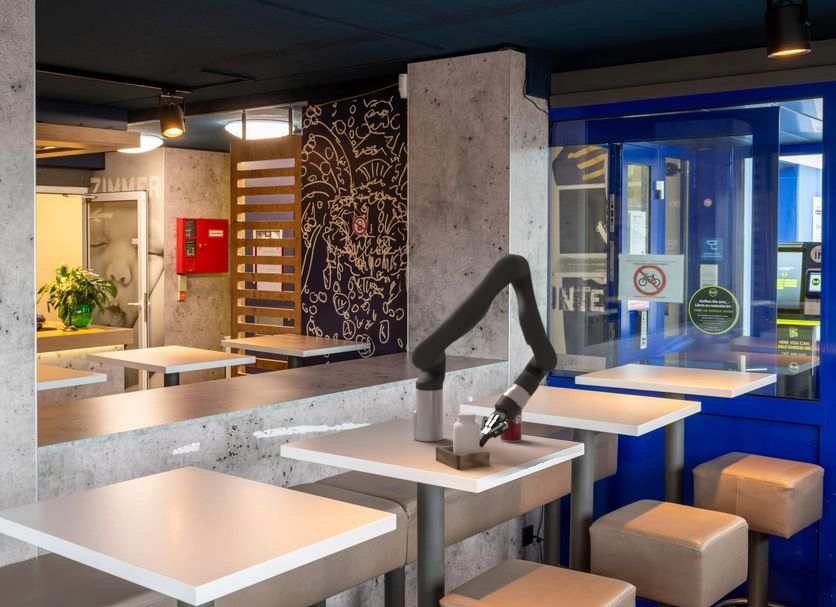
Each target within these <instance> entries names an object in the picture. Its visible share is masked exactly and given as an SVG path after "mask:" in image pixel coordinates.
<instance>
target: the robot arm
mask: <svg viewBox="0 0 836 607" xmlns="http://www.w3.org/2000/svg"><path fill="white" fill-rule="evenodd" d="M510 284H511V287H512V289H513V291H514V292H515V297H516V300H517V310H518V311H517V312H518V313H517V314H518V322H519V326H520V329H521V332H522V335H523V339H524V341H525V343H526V345H527V346H529V347H530V349H531V351H532V353H533V356H531V358H530V359H529V361H528V362H527V364H526V365H525V367H524V368H523V370H522V371H521V373H520V374H519V375H518V376H517V377H516V379H515V380H514V381H513V383H512V384H511V385H510V386H509V387H508V388H506V390H505V391H504V392H503V394H502V395H501V396H500V398H499V399H498V400H497V401H496V402H495V404H494V411H493V412H492V413H491V414H490V415H489V416H488V417H487V415H486V416H485V415H484V416H483V417H482V419H481V420H482V422H481V424H480V425H481V426H480V428H479V431H481V434H480V435H479V448H484V446H485V445H486V444H487V442H488V441H489V440H491V439H492V438H493V439H497V438H498V437H500V435H501V434H503V433H504V432H506V431H507V430H509V428H510V427H509V426H508V423H509V421H513V420H515V418H516V417H517V416H518V414H519V413H520V412H521V411H522V412H523V409H524V408H525V407H526V405H527V404H528V402H529V400H530V399H531V398H532V396H533V395H534V393H535V392H536V391H537V390H538V388H539V387H540V383H541V382H542V381H543V379H544V378H545V377H546V376H547V375H548V374H549V373H550V372H552V371H553V370H555V368H557V364H558V357H557V353H556V350H555V348H554V346H553V344H552V342H551V340H550V339H549V338H548V336H547V332H546V329H545V325H544V323H543V320H542V317H541V313H540V310H539V307H538V304H537V299H536V295H535V291H534V290H535V289H534V285H533V279H532V272H531V267H530V264H529V261H528V260H527V259H526V257H524V256H523V255H521V254H515V253H505V254H502V255H501V256H499V258H497V259H496V261H495V262H494V263H493V264H492V266H491V267H490V268H489V270H488V271H487V272H486V274H484V276H483V278H482V279H481V280H480V281H479V282H478V283H477V284H476V285H475V286H474V287H473V288H472V289H471V290H470V291H469V292H468V293H467V294H466V295H464V297H463V298H461V300H460V301H459V302H458V303H457V304H456V305H455V306H454V308H453V309H451V311H450V312H449V313H448V314H447V315H446V316H445V318H443V320H442V321H441V322H440V323H439V324H438V326H437V327H436V328H435V329H434V330H433V331H431V333H429V334H428V335H427V336H426V337H424V338H423V339H422V340H421V341H420V342H419V343H417V345H415V346H414V348H413V350H412V352H411V363H412V364H413V366H414V367H415V368H417V369H419V370H420V374H419V376H418V377H417V379H416V381H415V410H414V411H413V440H416V441H420V442H421V441H422V442H438V441H439V442H440V441H442V440H443V439H444V383H445V379H446V369H447V368H446V367H447V366H446V365H447V364H446V363H447V356H446V350H447V349H448V347H450V346H451V345H452V344H453V343H455V342H456V341H458V340H460V339H461V338H462V337H464V336H465V335H466V334H468V333H469V332H471V331H472V330H473V329H474V328H475V327H476V326H477V325H478V324H479V323H480V322H481V321H482V320H483V319H484V318H485V317H486V315H487V314H488V312H489V310H490V308H491V305H492V304H493V302H494V300H495V299H496V297H497V296H498V295H499V293H501V292H502V291H503V290H504V289H505V288H506V287H508V285H510Z"/></svg>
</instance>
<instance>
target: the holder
mask: <svg viewBox="0 0 836 607" xmlns="http://www.w3.org/2000/svg"><path fill="white" fill-rule="evenodd" d="M490 455H491V452H490V451H481V452H480V451H479V453H470V454H462V455H458V454H455V453H453V444H452V445H443V446H435V461H437V462H438V463H442V464H444V465H445V466H447V467H451V468H452V469H454V470H456V471H457V470H465V469H472V468H474V469H475V468H481V467H488V466H489V467H490V466H491V462H490V461H491V456H490Z"/></svg>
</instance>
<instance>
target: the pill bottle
mask: <svg viewBox="0 0 836 607" xmlns="http://www.w3.org/2000/svg"><path fill="white" fill-rule="evenodd" d="M452 430H453V432H452V437H453V438H452V442H453V443H452V445H453V453H455V454H458V455H462V454H470V453H479V452H480V447H479V437H480V424H479V423H478V422H476V413H474V412H470V411H462V412H459V413H457V421H456V422H455V423H454V424H453V426H452Z"/></svg>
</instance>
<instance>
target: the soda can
mask: <svg viewBox="0 0 836 607" xmlns="http://www.w3.org/2000/svg"><path fill="white" fill-rule="evenodd" d="M508 426H509V427H510V428H509V430H507V431H506V432H504V433H503V434H501V435H499V438H500V441H501V442H504V443H505V442H506V443H519V442H521V441H522V440H523V438H522V437H523V432H522V431H523V410H522V411H521V412H520V413H519V414H518V416H517V417H516V418H515V420H513V421H509V423H508Z"/></svg>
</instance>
